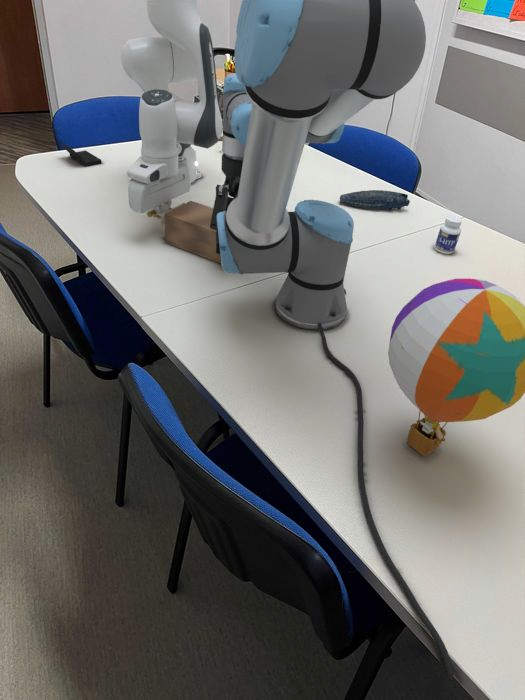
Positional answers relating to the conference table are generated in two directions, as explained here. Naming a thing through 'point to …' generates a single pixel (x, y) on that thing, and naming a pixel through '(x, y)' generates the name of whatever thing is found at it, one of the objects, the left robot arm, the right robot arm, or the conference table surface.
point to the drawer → (153, 213)
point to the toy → (458, 355)
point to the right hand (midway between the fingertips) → (234, 245)
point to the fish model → (376, 199)
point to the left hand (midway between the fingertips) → (162, 217)
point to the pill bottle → (448, 235)
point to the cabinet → (192, 230)
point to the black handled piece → (82, 156)
